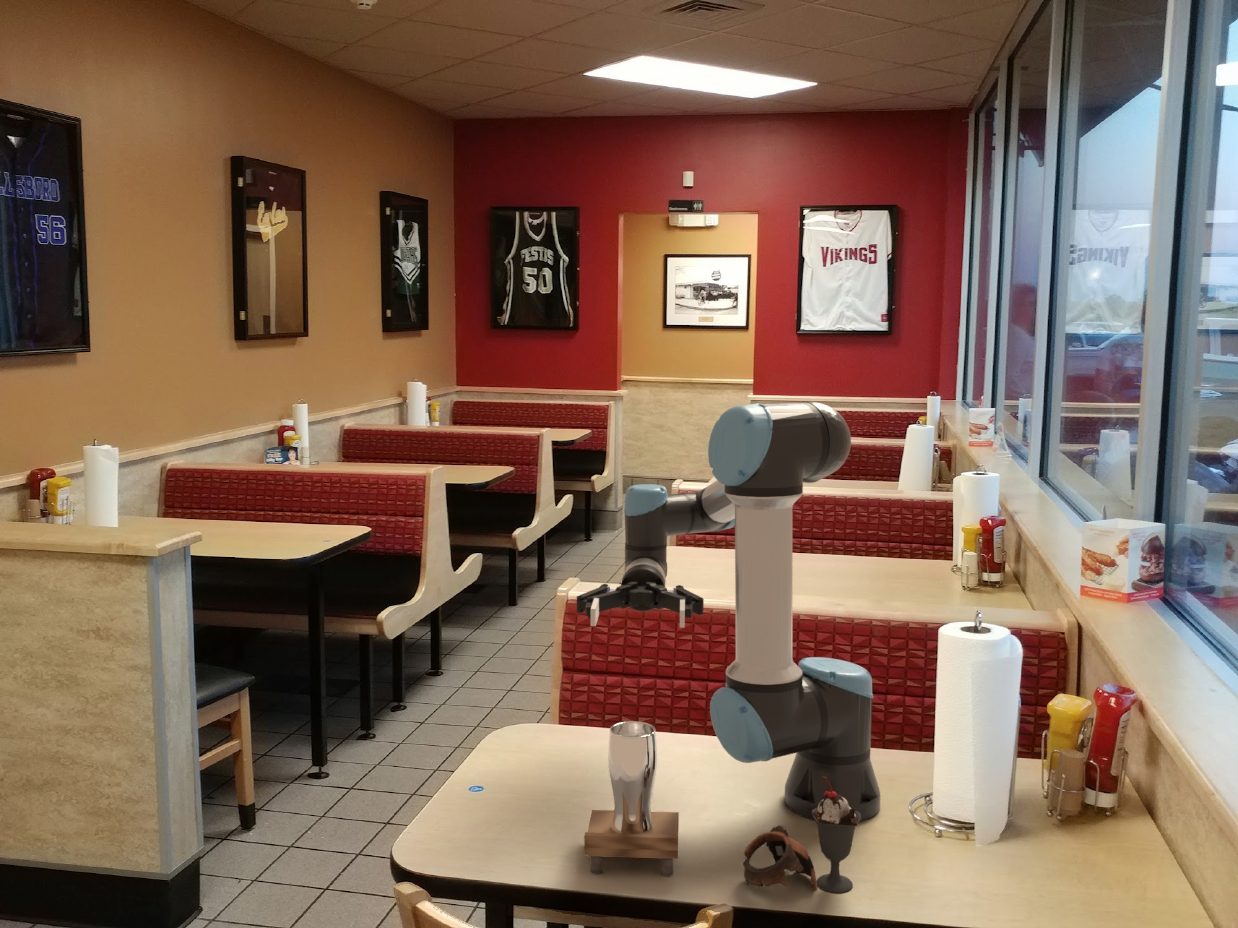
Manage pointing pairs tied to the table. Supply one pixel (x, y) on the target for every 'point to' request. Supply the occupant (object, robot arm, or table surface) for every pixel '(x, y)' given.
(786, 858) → the broken clay pot
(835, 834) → the sundae
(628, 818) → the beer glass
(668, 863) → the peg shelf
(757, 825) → the table surface
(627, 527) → the robot arm
